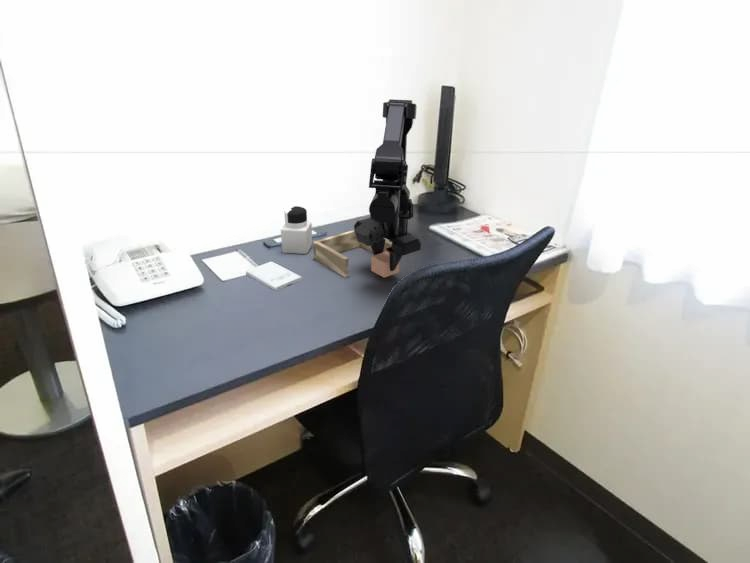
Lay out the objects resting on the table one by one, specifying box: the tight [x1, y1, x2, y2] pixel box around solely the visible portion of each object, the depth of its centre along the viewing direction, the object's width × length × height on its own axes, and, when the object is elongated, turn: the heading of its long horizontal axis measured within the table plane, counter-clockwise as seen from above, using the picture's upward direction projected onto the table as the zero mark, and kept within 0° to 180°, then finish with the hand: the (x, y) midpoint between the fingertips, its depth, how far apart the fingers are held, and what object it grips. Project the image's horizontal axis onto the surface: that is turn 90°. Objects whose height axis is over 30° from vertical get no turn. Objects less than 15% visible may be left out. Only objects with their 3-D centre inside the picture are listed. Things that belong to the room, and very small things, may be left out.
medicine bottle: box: [280, 205, 313, 255], centre depth 134 cm, size 7×7×12 cm
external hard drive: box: [245, 261, 303, 292], centre depth 121 cm, size 2×8×12 cm
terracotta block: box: [370, 251, 401, 278], centre depth 121 cm, size 5×5×4 cm
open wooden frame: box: [312, 229, 392, 278], centre depth 130 cm, size 16×14×5 cm
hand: (385, 266), depth 121 cm, fingers closed on terracotta block, 5 cm apart
